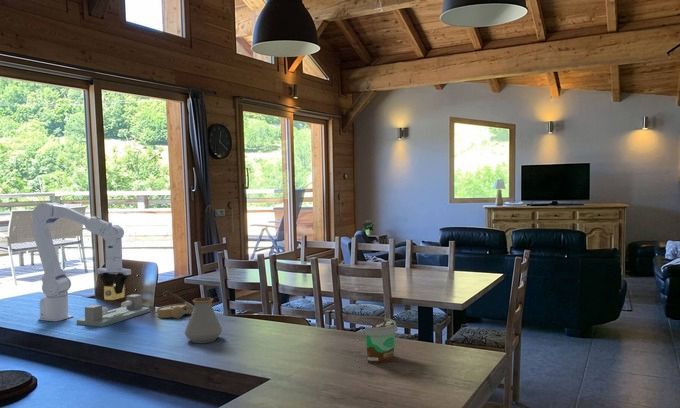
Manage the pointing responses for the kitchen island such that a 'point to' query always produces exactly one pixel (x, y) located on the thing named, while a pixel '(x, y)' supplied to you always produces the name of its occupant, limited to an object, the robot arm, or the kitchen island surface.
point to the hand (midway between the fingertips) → (114, 293)
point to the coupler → (112, 292)
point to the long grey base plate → (113, 312)
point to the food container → (381, 341)
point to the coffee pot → (201, 320)
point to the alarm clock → (173, 311)
